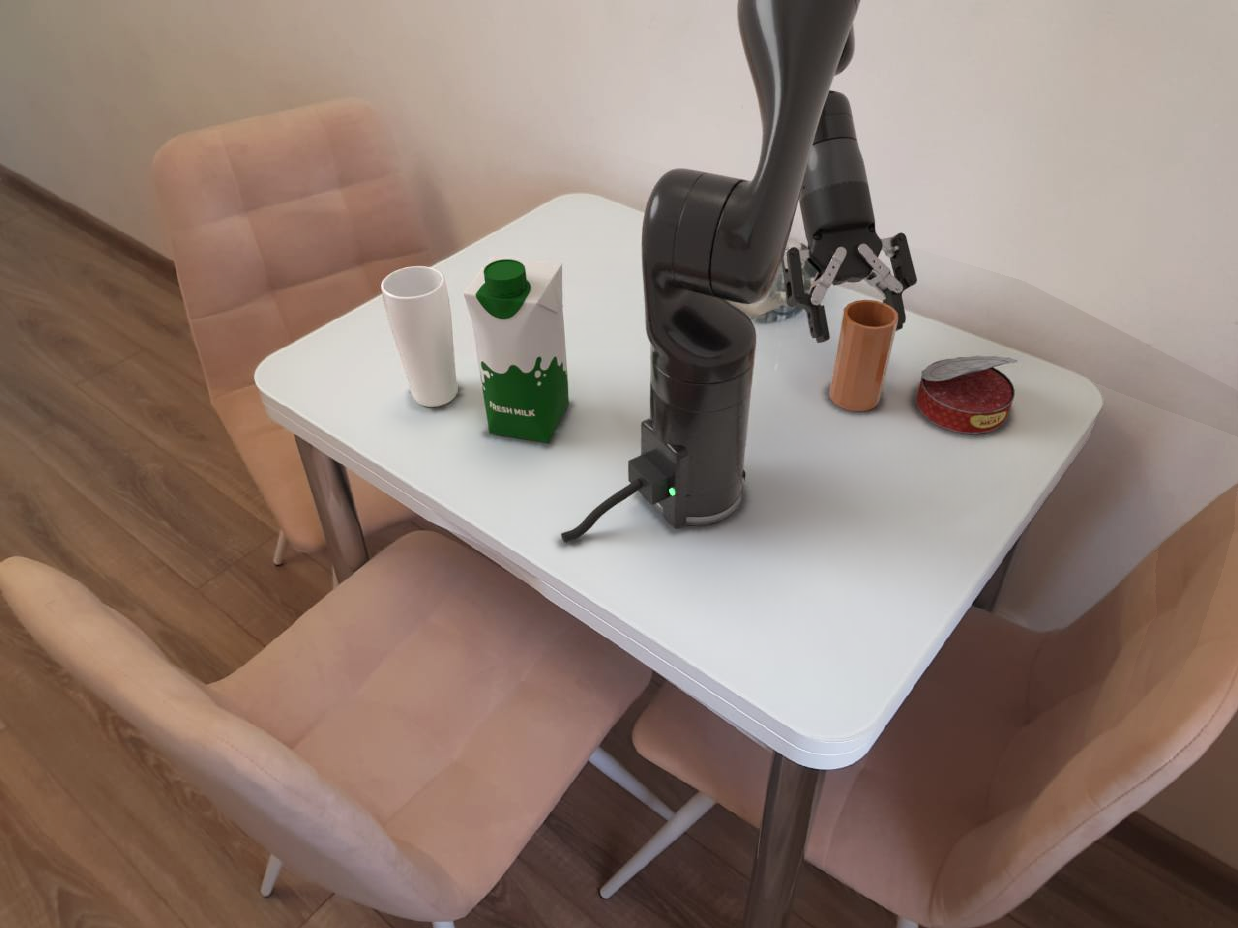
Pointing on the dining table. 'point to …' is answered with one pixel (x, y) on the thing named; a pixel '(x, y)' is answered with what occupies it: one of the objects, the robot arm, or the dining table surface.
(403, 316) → the drinking glass
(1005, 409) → the canned food
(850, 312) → the tumbler
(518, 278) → the milk carton
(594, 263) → the dining table surface
